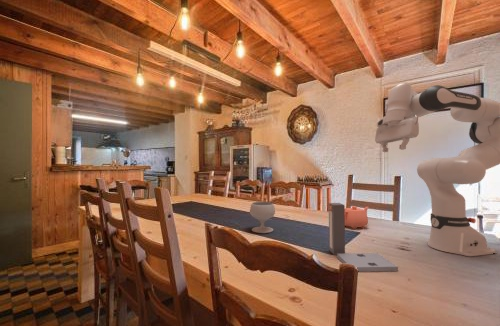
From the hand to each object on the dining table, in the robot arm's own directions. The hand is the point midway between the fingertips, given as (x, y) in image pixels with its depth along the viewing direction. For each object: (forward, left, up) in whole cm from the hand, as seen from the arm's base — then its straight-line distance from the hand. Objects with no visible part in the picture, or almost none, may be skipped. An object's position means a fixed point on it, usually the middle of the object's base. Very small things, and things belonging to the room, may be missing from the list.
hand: (393, 150), depth 98 cm
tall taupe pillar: (+26, +3, -42) cm, 50 cm away
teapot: (0, -35, -42) cm, 55 cm away
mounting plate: (+20, +14, -42) cm, 49 cm away
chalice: (+54, -30, -42) cm, 75 cm away
